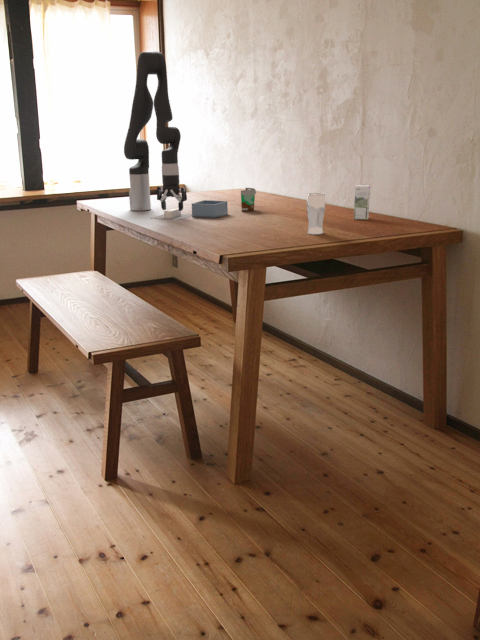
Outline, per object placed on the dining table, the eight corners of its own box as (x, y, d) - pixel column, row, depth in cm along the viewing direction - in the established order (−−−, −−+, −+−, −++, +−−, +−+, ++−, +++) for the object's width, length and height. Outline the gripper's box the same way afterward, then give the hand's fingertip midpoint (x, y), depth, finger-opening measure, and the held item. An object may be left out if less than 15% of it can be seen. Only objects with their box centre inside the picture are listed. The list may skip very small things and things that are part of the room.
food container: (253, 212, 298) (253, 190, 295) (241, 212, 299) (240, 190, 296) (258, 208, 309) (258, 187, 306) (246, 208, 310) (245, 187, 307)
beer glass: (304, 232, 248) (305, 193, 244) (322, 231, 249) (323, 192, 244) (308, 235, 242) (308, 195, 237) (326, 234, 242) (327, 194, 237)
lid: (150, 220, 287) (149, 211, 286) (167, 215, 300) (166, 206, 299) (179, 221, 281) (178, 213, 280) (195, 216, 294) (194, 208, 293)
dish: (192, 216, 289) (191, 203, 287) (204, 213, 299) (204, 200, 297) (215, 218, 284) (215, 204, 282) (227, 214, 294) (227, 201, 292)
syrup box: (368, 218, 276) (370, 184, 272) (366, 220, 271) (368, 185, 267) (355, 217, 278) (357, 183, 274) (353, 219, 273) (354, 185, 268)
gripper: (152, 174, 284) (154, 210, 289) (180, 174, 278) (181, 212, 284) (161, 172, 291) (163, 208, 296) (188, 173, 285) (190, 209, 290)
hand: (172, 210), depth 290 cm, fingers open, 8 cm apart
